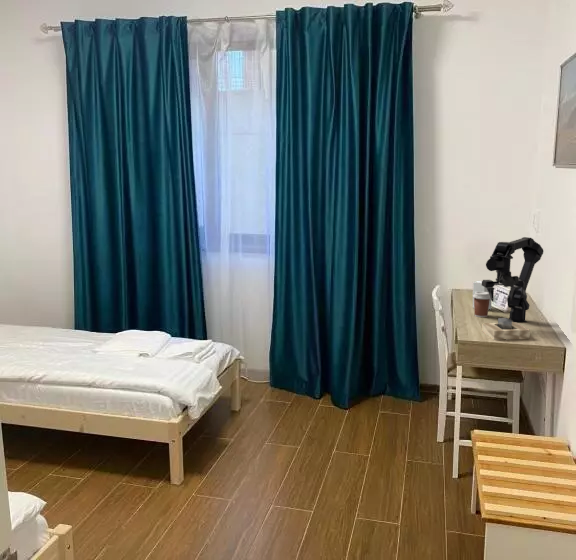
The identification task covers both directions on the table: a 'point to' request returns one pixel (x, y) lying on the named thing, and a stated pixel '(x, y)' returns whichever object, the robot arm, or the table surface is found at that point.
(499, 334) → the well block
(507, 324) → the bracket
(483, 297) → the coffee cup
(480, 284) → the skincare box
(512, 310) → the robot arm
